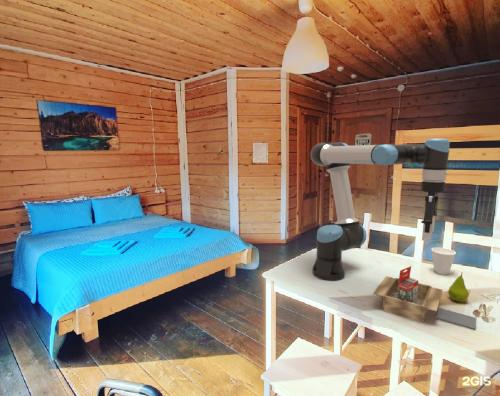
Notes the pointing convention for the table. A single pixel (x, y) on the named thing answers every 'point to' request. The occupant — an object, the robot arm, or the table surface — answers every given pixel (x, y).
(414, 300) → the ink box
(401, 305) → the carton
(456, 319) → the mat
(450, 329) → the table surface
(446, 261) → the cup
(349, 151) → the robot arm
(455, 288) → the fruit
